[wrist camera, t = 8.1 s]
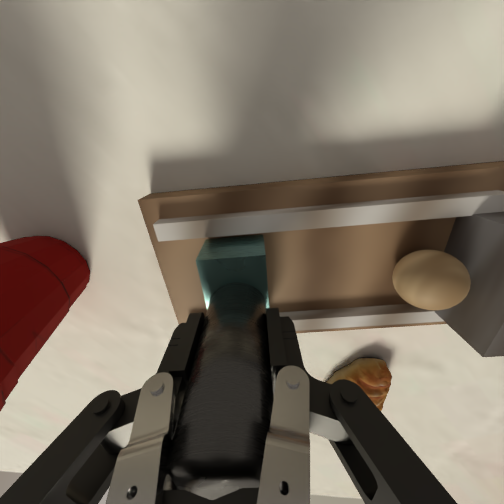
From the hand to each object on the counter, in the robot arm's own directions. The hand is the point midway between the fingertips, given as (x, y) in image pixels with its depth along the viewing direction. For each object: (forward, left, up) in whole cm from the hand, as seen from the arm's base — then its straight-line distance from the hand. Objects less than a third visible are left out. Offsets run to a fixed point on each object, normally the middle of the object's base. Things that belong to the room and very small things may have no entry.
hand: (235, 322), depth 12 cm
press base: (-7, 0, -7) cm, 9 cm away
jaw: (0, 0, -4) cm, 4 cm away
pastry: (-11, +18, -7) cm, 22 cm away
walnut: (-13, 0, -3) cm, 13 cm away
